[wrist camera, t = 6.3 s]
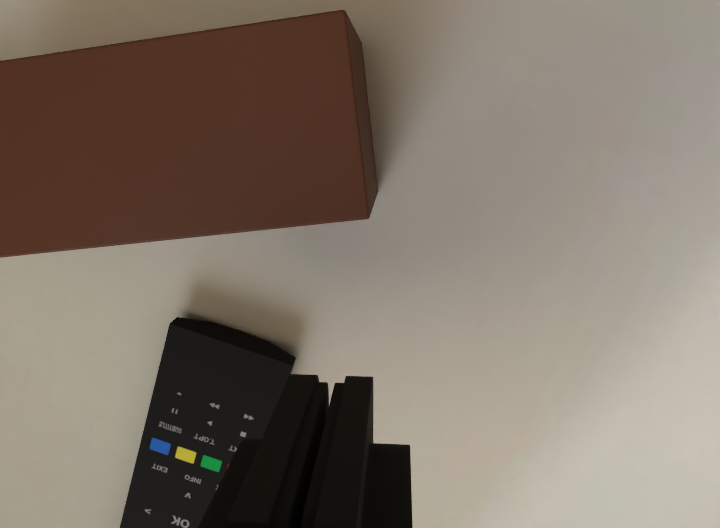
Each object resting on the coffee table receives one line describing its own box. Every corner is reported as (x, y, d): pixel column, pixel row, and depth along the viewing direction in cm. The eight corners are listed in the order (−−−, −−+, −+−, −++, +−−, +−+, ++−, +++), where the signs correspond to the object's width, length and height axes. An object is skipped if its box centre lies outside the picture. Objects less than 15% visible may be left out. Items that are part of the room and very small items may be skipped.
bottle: (361, 40, 19) (-91, 105, 21) (345, 8, 13) (-264, 99, 15) (378, 192, 20) (-46, 239, 22) (370, 219, 15) (-189, 277, 17)
